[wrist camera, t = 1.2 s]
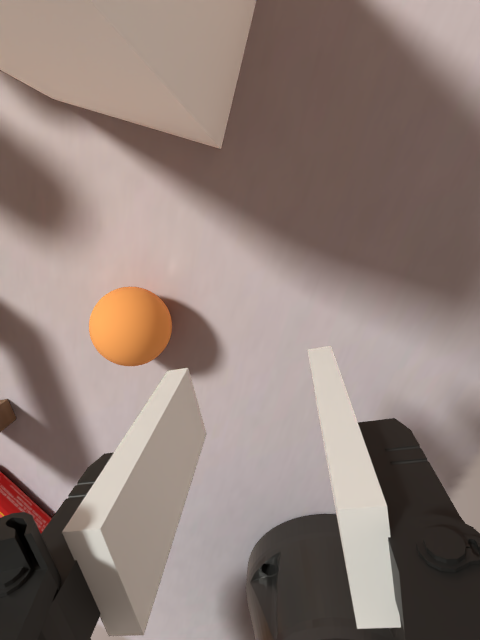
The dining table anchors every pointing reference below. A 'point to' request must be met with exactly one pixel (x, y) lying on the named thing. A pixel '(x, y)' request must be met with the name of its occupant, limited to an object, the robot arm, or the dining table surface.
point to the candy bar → (20, 503)
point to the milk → (132, 58)
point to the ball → (130, 326)
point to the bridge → (6, 414)
